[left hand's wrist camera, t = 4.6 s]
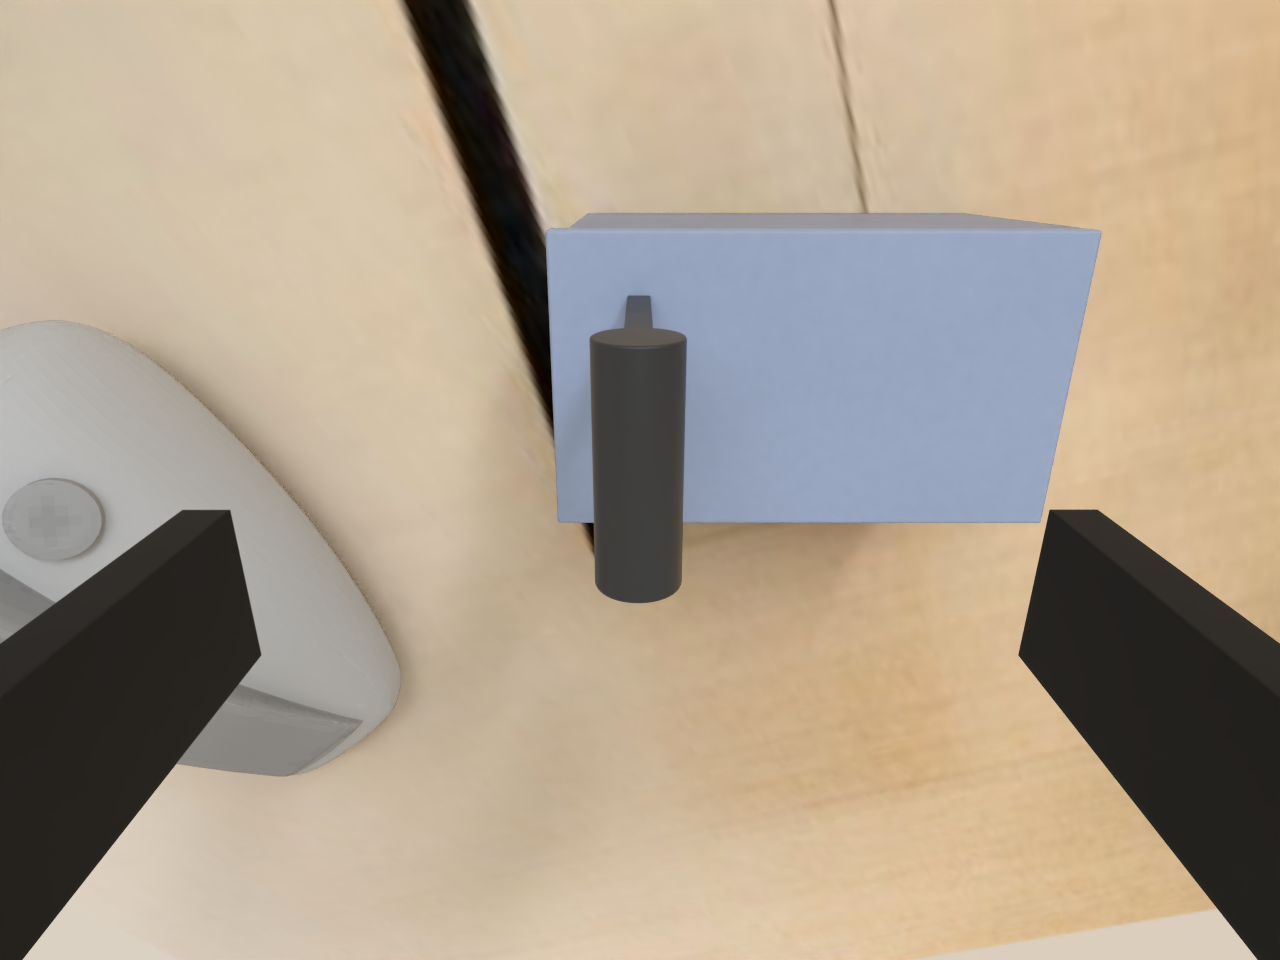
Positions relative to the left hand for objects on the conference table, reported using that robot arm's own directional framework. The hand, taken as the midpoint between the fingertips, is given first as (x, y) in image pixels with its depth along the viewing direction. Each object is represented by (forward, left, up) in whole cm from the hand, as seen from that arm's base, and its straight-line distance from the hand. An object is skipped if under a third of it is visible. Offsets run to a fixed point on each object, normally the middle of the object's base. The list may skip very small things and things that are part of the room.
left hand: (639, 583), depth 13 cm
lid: (+5, +2, -13) cm, 15 cm away
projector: (-16, -18, -23) cm, 33 cm away
